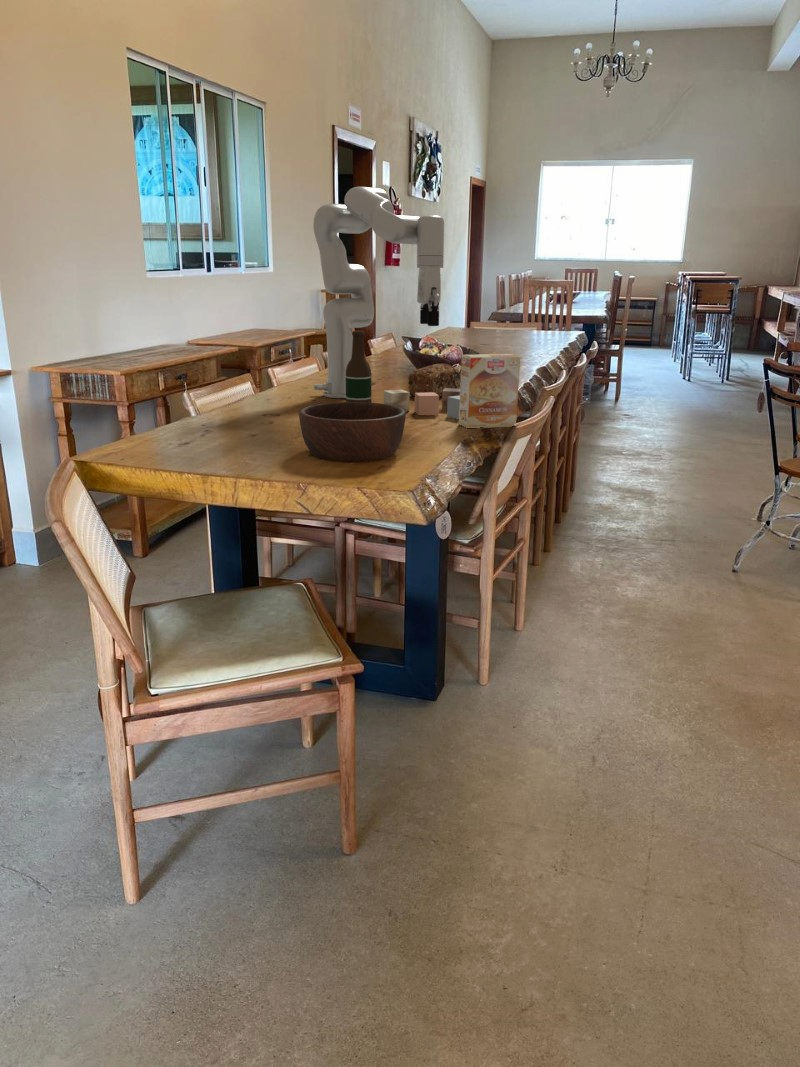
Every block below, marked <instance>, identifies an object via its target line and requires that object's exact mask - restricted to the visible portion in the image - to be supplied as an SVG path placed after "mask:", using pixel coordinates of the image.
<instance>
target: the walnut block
mask: <svg viewBox="0 0 800 1067" xmlns="http://www.w3.org/2000/svg"><path fill="white" fill-rule="evenodd" d="M451 396H460V388H459V389H452V388H444V390H443V391H442V397H441V398H442V399H441V401H442V402H441V411H446V410H447V401H448V397H451Z"/></svg>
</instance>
